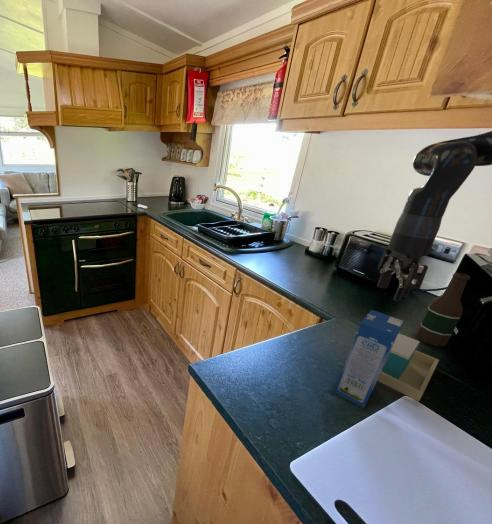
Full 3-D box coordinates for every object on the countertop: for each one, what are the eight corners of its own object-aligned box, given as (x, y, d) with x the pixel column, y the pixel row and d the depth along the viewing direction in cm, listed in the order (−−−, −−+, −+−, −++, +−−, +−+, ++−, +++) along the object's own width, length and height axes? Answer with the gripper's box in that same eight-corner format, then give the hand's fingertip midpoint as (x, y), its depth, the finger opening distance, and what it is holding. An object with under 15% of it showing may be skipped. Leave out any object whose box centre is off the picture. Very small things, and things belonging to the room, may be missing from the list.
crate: (434, 369, 82) (439, 359, 81) (417, 404, 69) (423, 393, 68) (369, 341, 93) (373, 332, 92) (344, 366, 81) (348, 357, 79)
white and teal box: (409, 363, 82) (420, 341, 80) (398, 380, 75) (409, 357, 73) (384, 352, 87) (394, 331, 84) (371, 368, 79) (381, 345, 77)
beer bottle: (451, 350, 92) (488, 281, 83) (421, 343, 94) (454, 276, 85) (437, 336, 98) (469, 272, 90) (409, 331, 101) (439, 267, 92)
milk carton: (345, 374, 78) (371, 309, 70) (373, 388, 73) (404, 320, 66) (333, 392, 71) (360, 322, 64) (363, 408, 67) (396, 335, 60)
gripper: (454, 243, 61) (424, 310, 67) (415, 228, 74) (392, 285, 80) (413, 238, 63) (386, 304, 68) (381, 225, 76) (361, 281, 81)
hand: (389, 294), depth 74 cm, fingers open, 8 cm apart
